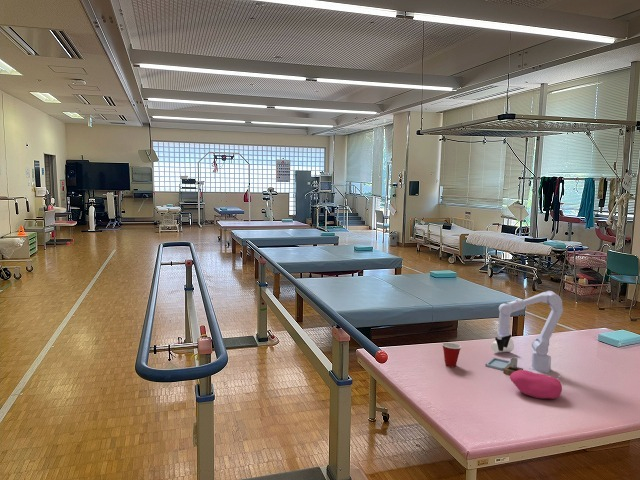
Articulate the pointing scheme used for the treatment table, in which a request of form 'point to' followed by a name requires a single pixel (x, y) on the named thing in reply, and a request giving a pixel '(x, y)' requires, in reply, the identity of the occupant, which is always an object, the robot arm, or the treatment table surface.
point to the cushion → (536, 384)
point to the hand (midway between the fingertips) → (502, 348)
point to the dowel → (513, 364)
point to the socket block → (508, 371)
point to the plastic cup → (451, 353)
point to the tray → (497, 363)
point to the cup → (508, 349)
